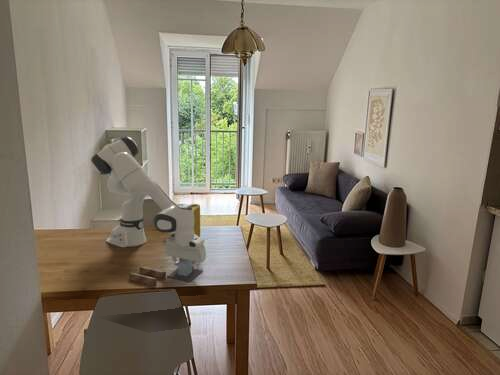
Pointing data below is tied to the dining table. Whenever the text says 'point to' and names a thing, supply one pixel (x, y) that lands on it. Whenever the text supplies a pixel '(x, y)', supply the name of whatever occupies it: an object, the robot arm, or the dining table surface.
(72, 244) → the dining table surface
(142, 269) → the shelf slot
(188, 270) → the blank
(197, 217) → the book
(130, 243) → the robot arm
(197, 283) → the dining table surface
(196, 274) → the mat
